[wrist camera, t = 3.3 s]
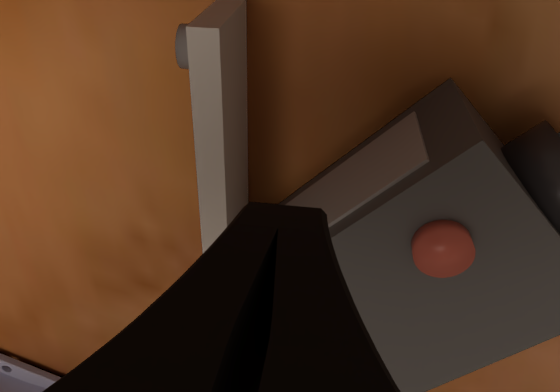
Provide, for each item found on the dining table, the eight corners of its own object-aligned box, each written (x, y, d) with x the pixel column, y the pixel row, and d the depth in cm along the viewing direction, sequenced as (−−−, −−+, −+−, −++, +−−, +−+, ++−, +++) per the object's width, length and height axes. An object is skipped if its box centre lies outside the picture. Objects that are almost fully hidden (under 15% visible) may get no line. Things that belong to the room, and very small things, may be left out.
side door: (246, -3, 15) (217, 29, 11) (249, 225, 19) (229, 293, 16) (197, -5, 15) (155, 25, 12) (211, 221, 19) (183, 288, 16)
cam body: (608, 195, 17) (691, 296, 13) (346, 333, 22) (345, 437, 18) (497, 39, 15) (554, 102, 11) (233, 233, 20) (202, 326, 16)
